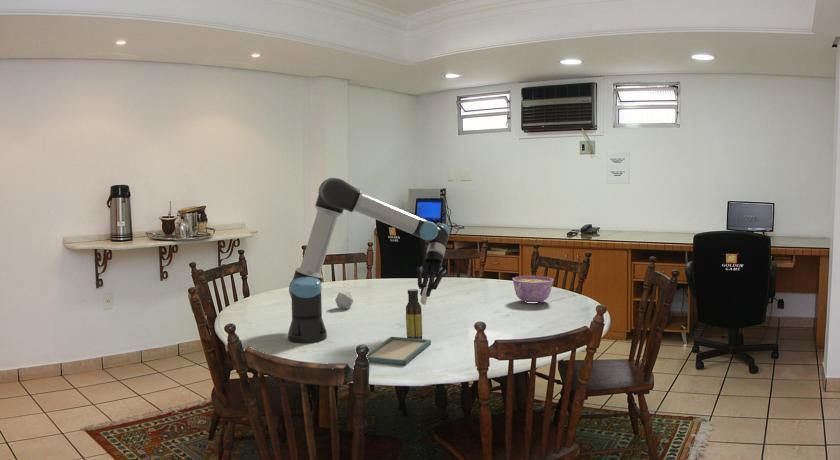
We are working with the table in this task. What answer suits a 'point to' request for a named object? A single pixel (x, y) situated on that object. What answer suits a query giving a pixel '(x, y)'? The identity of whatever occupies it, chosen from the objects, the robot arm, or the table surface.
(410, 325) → the sauce bottle
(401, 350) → the teal tray
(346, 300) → the die
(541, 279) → the bowl of food
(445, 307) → the table surface
